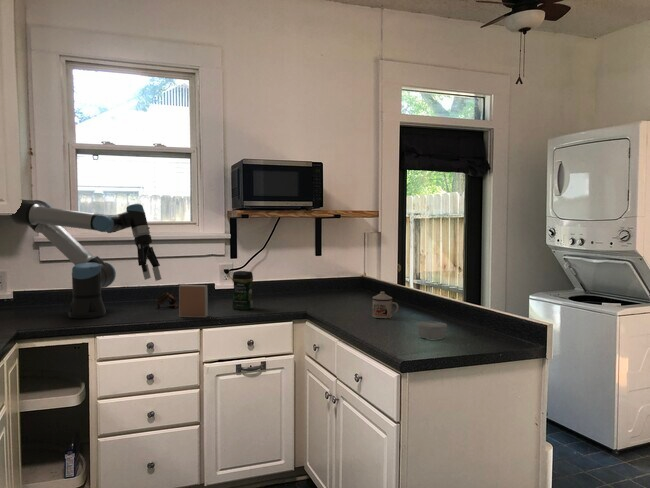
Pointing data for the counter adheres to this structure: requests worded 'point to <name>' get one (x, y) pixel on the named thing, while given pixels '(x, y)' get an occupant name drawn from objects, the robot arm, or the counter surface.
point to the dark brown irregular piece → (167, 298)
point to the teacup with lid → (383, 306)
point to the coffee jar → (242, 290)
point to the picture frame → (193, 301)
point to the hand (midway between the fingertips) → (153, 279)
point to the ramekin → (431, 329)
